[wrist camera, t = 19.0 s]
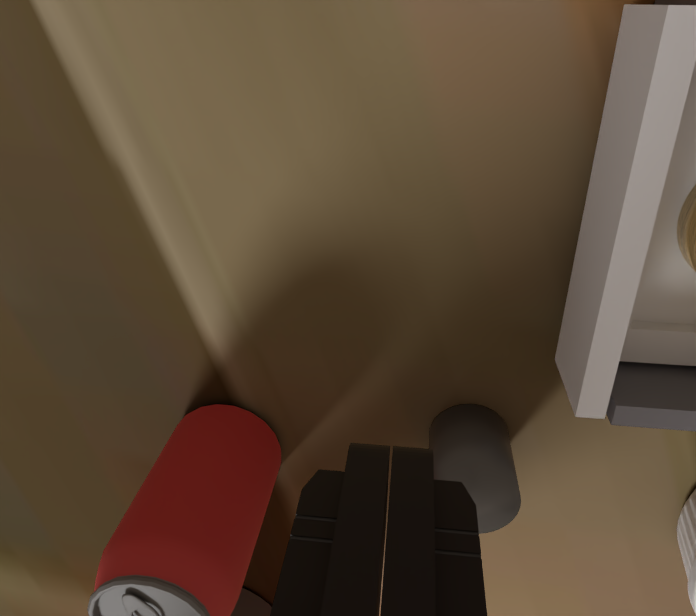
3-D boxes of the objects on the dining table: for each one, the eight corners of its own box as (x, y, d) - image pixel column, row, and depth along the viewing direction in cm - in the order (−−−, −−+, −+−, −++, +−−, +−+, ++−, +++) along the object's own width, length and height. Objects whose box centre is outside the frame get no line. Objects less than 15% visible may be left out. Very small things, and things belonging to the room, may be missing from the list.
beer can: (251, 384, 34) (171, 559, 23) (302, 468, 36) (251, 661, 26) (157, 416, 36) (44, 591, 25) (212, 494, 38) (130, 683, 28)
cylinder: (426, 462, 35) (426, 529, 31) (431, 401, 33) (432, 463, 29) (503, 469, 35) (514, 537, 30) (513, 407, 32) (527, 471, 28)
